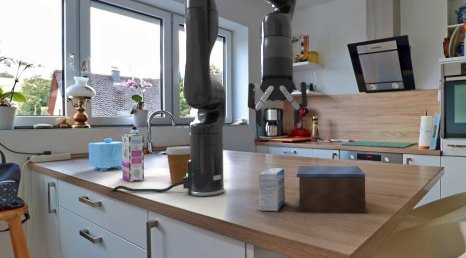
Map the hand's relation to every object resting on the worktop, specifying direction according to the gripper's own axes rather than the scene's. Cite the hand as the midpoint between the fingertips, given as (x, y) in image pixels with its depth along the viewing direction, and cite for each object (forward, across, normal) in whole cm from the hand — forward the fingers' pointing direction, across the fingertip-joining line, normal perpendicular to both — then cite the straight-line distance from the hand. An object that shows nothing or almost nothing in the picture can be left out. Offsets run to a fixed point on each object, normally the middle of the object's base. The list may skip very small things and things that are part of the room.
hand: (278, 126), depth 71 cm
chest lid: (+11, -12, -1) cm, 17 cm away
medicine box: (+20, +1, +1) cm, 20 cm away
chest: (+19, -13, -1) cm, 23 cm away
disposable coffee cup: (+20, +37, -27) cm, 50 cm away
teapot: (+20, +82, -54) cm, 100 cm away
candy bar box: (+20, +57, -32) cm, 68 cm away
